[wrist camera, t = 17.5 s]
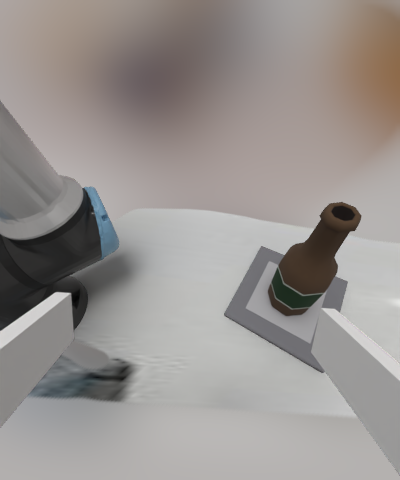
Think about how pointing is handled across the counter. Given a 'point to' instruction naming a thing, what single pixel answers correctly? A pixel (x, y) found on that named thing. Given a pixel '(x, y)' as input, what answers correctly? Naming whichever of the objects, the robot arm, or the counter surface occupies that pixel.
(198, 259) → the counter surface
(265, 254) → the picture frame
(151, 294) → the counter surface
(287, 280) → the beer bottle
